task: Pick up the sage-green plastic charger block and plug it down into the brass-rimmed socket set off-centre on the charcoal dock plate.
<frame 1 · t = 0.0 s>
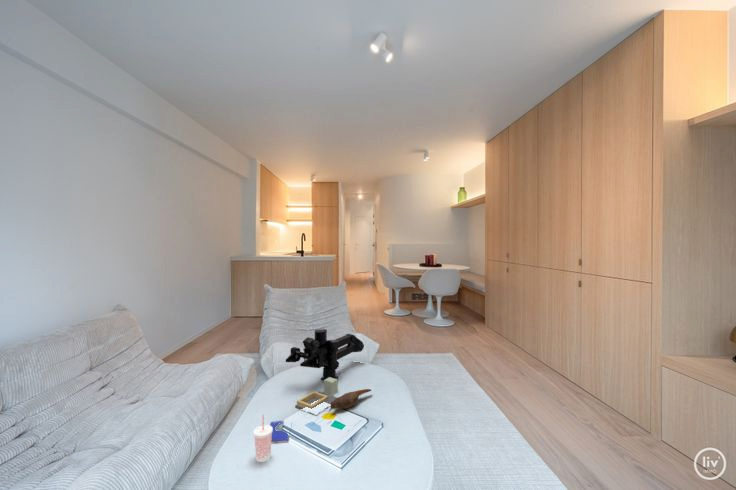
hand: (293, 362, 143), 17 cm above the table, tool horizontal, fingers open, 9 cm apart
beverage cup: (263, 457, 105), on the table
hard drive: (279, 434, 118), on the table
bird sculpture: (350, 405, 138), on the table
socket dock: (317, 403, 139), on the table
charger block: (330, 392, 150), on the table
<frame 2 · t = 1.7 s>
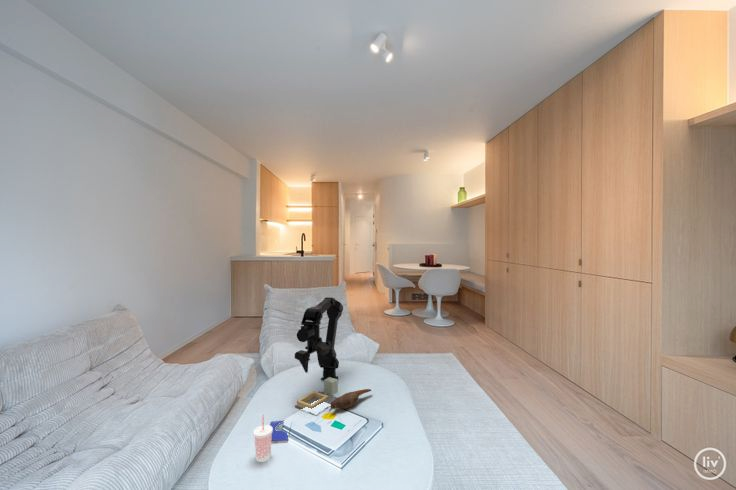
hand: (313, 369, 148), 12 cm above the table, tool pointing down, fingers open, 9 cm apart
nothing on the table moved.
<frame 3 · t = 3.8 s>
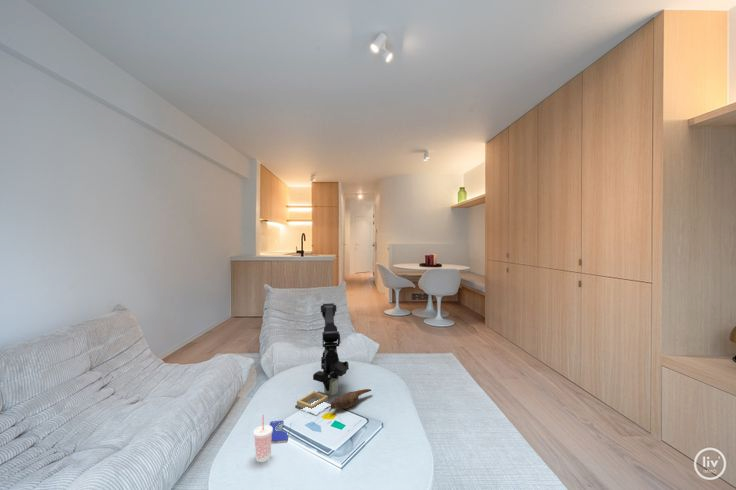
hand: (330, 389, 150), 2 cm above the table, tool pointing down, fingers closed on charger block, 4 cm apart
charger block: (330, 392, 150), on the table, touching gripper
everything else where it was.
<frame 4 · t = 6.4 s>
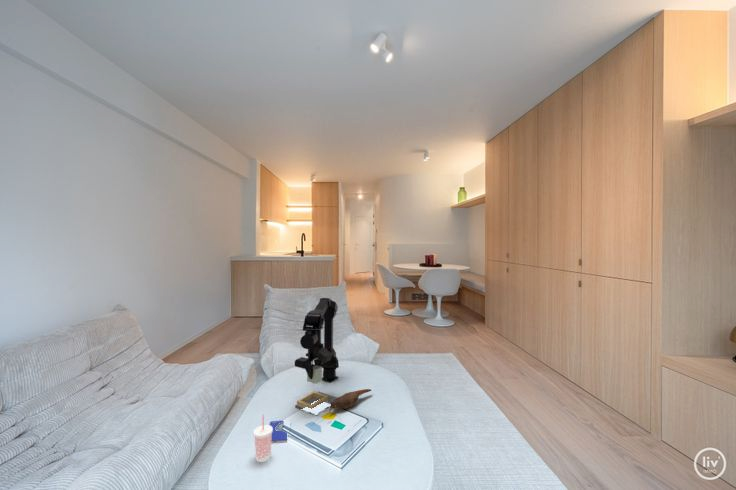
hand: (314, 377, 139), 12 cm above the table, tool pointing down, fingers closed on charger block, 4 cm apart
charger block: (314, 380, 139), point 10 cm above the table, touching gripper
everything else where it was.
when the fingers open (3 cm above the table, at t = 9.2 s): charger block stays where it is, resting on socket dock.
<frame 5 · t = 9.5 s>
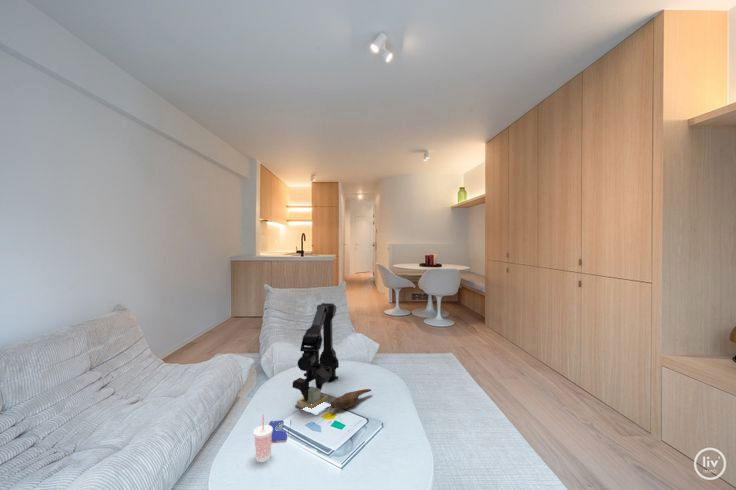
hand: (312, 397, 138), 3 cm above the table, tool pointing down, fingers open, 7 cm apart
charger block: (312, 403, 138), point 1 cm above the table, touching socket dock
everything else where it was.
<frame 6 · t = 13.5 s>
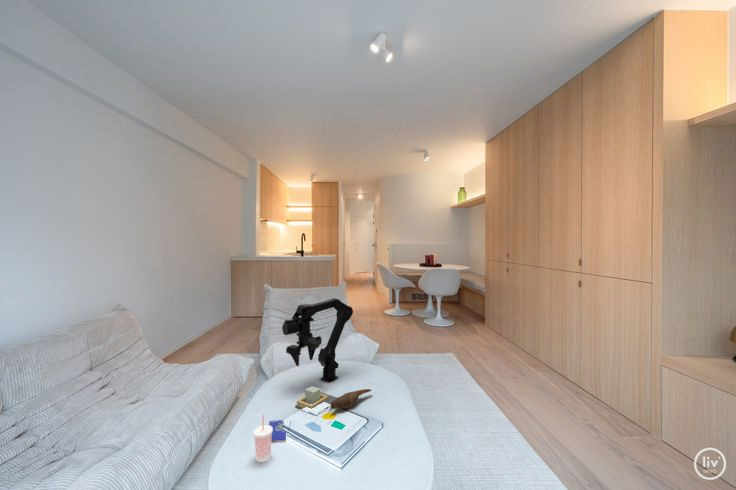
hand: (304, 362, 155), 12 cm above the table, tool pointing down, fingers open, 9 cm apart
nothing on the table moved.
at the end: charger block 0.1 cm from the target spot on the socket dock, point 1.0 cm above the socket dock's base; charger block tilted 0°; the gripper is holding nothing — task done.
